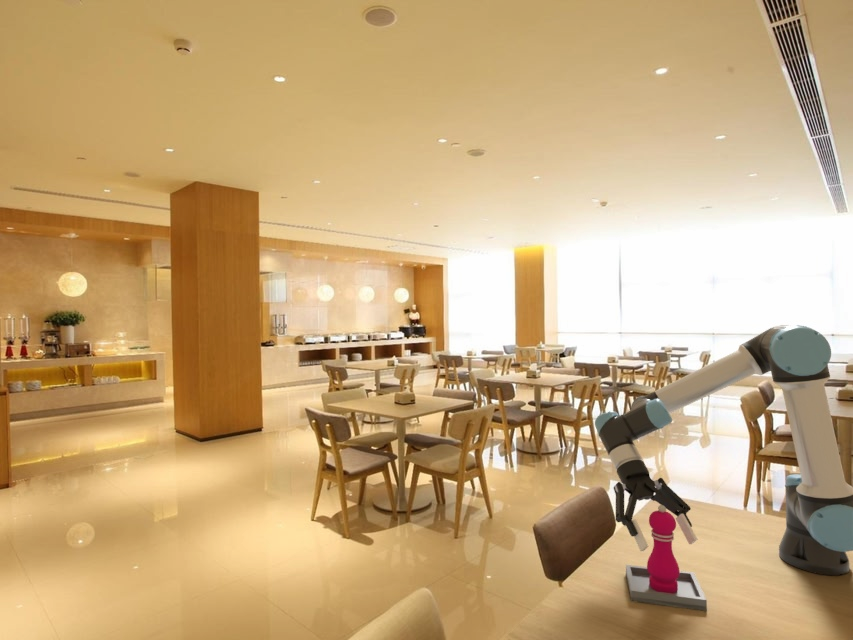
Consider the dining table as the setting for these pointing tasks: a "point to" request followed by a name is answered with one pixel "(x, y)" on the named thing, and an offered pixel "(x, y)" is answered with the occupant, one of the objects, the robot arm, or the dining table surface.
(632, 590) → the tray
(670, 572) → the pepper mill
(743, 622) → the dining table surface
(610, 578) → the dining table surface
